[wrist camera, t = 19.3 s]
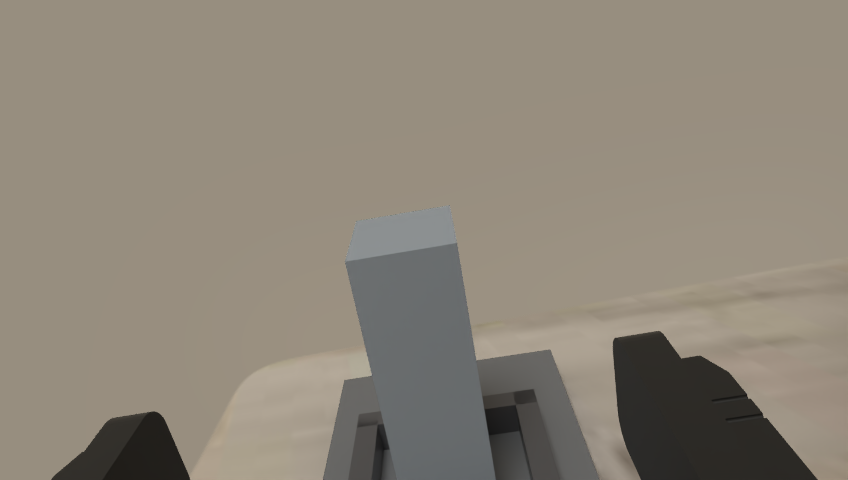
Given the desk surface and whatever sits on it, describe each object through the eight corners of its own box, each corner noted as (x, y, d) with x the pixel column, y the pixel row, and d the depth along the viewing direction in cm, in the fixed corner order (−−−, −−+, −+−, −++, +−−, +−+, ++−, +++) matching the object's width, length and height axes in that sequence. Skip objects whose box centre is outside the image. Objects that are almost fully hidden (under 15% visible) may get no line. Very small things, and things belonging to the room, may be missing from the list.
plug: (491, 457, 27) (449, 205, 22) (503, 529, 23) (456, 242, 19) (412, 469, 27) (356, 221, 23) (412, 542, 23) (345, 261, 19)
